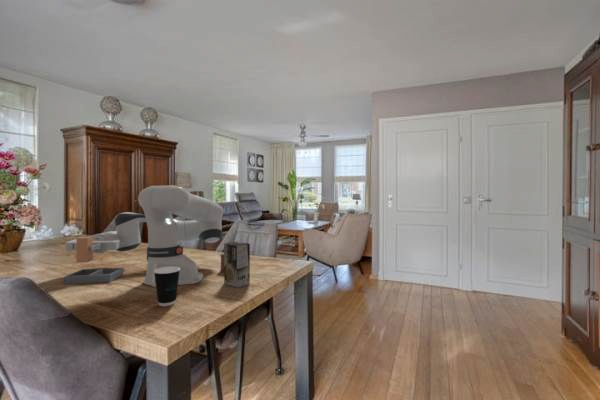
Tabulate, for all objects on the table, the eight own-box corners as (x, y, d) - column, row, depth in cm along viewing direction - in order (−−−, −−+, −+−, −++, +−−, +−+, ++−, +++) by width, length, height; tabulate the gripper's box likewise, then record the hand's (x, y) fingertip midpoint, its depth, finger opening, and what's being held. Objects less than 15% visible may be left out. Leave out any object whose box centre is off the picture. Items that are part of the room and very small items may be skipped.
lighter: (238, 270, 134) (238, 249, 134) (234, 272, 131) (234, 250, 131) (223, 269, 137) (223, 248, 137) (219, 271, 134) (219, 249, 134)
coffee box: (250, 284, 113) (250, 243, 113) (236, 288, 109) (236, 245, 108) (237, 279, 120) (237, 241, 119) (223, 283, 115) (223, 242, 115)
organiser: (123, 274, 127) (123, 267, 127) (110, 282, 116) (110, 274, 116) (82, 276, 125) (82, 269, 125) (64, 284, 113) (64, 276, 113)
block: (92, 260, 122) (92, 236, 122) (87, 262, 118) (87, 237, 118) (82, 260, 121) (82, 236, 121) (76, 262, 117) (76, 238, 117)
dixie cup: (161, 298, 97) (161, 266, 97) (184, 299, 97) (184, 266, 97) (148, 307, 89) (148, 272, 89) (173, 308, 89) (173, 272, 89)
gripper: (125, 249, 134) (110, 255, 120) (77, 250, 131) (56, 256, 117) (125, 235, 134) (110, 240, 120) (77, 236, 131) (56, 241, 117)
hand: (83, 248), depth 119 cm, fingers closed on block, 4 cm apart
